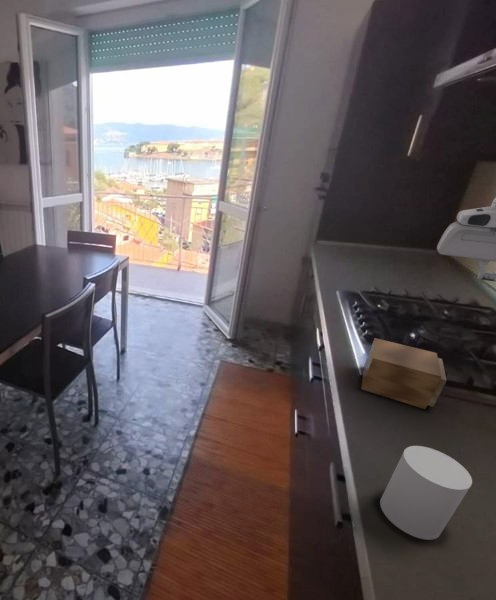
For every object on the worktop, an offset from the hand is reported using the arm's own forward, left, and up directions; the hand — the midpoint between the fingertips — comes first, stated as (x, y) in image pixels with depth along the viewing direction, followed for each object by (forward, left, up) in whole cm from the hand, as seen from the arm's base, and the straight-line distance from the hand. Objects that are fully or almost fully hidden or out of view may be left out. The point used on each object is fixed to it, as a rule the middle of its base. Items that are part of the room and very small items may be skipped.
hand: (486, 279), depth 80 cm
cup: (+29, +40, -29) cm, 57 cm away
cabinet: (+12, +3, -29) cm, 32 cm away
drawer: (+10, +4, -28) cm, 30 cm away
